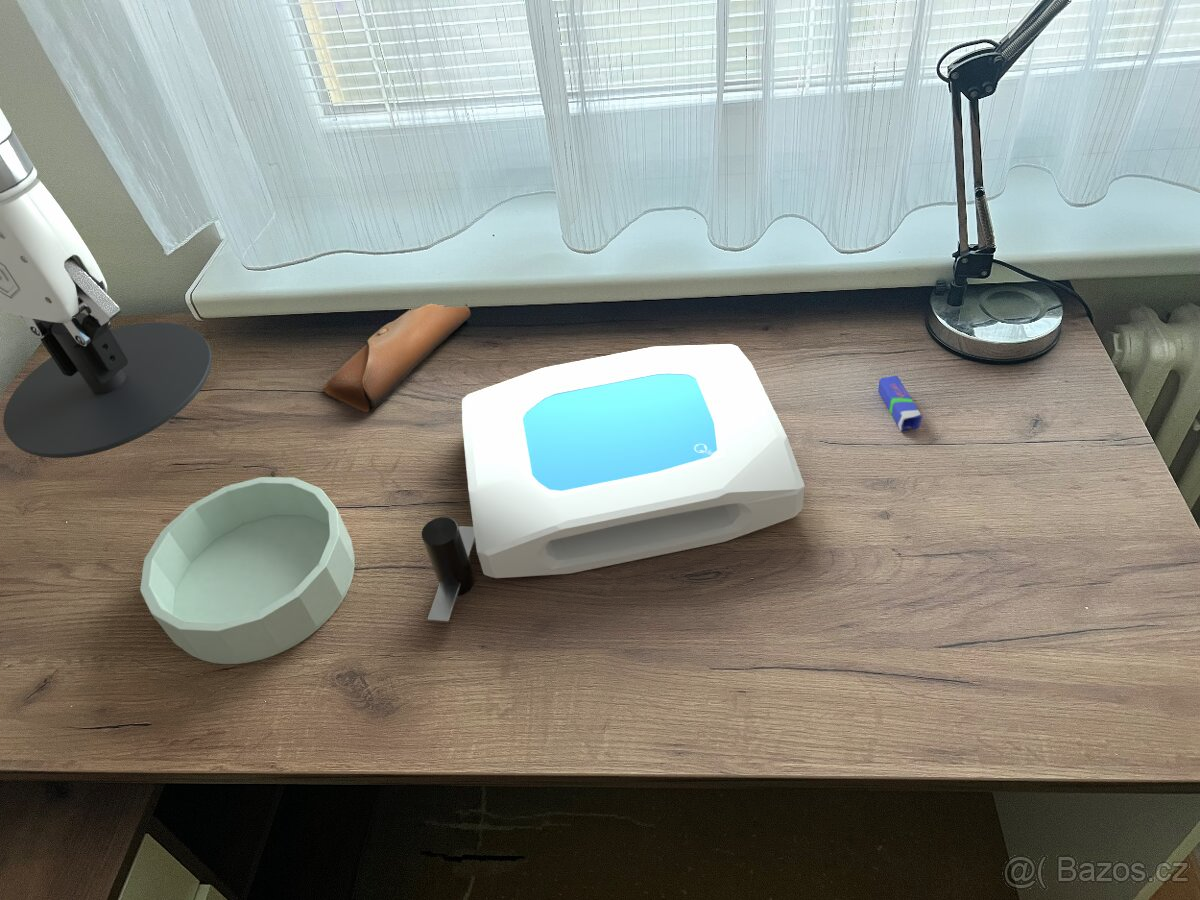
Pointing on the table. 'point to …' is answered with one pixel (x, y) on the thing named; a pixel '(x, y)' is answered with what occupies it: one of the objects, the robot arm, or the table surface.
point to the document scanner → (624, 460)
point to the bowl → (249, 570)
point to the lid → (108, 392)
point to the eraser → (899, 403)
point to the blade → (449, 563)
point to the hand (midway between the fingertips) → (96, 368)
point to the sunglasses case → (393, 355)
